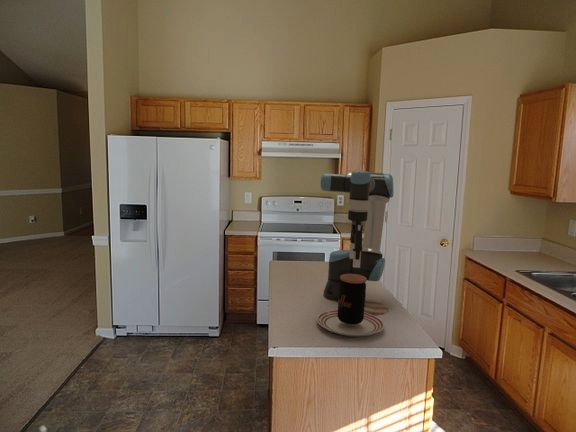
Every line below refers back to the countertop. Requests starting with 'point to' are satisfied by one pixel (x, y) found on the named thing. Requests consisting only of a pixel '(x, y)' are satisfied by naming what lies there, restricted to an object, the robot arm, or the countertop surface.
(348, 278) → the coffee jar
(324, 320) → the dinner plate
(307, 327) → the countertop surface
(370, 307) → the cork trivet
